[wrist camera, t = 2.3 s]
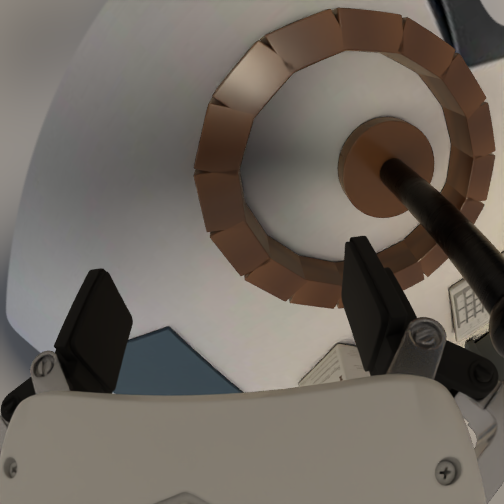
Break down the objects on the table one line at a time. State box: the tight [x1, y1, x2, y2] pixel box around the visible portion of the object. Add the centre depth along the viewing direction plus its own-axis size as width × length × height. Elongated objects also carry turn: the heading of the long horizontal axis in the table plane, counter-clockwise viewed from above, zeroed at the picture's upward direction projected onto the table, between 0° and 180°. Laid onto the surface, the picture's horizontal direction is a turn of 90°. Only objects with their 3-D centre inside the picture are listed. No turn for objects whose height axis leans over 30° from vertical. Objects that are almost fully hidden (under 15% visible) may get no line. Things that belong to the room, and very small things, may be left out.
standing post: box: [338, 117, 504, 358], centre depth 12 cm, size 7×7×16 cm
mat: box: [112, 327, 243, 396], centre depth 34 cm, size 20×16×1 cm
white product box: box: [299, 344, 370, 387], centre depth 27 cm, size 9×9×15 cm
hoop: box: [194, 8, 495, 309], centre depth 18 cm, size 20×20×3 cm
